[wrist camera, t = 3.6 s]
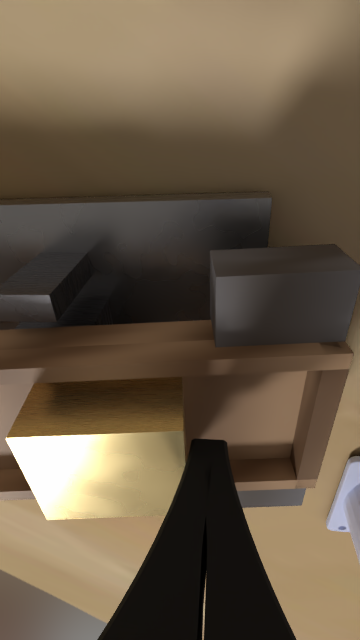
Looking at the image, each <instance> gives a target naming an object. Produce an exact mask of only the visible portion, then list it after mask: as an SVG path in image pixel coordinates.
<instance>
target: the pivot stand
mask: <svg viewBox="0 0 360 640" xmlns="http://www.w3.org/2000/svg"><path fill="white" fill-rule="evenodd" d="M271 204H272V197H271V195H270V193H269V192H239V193H205V194H171V195H137V196H103V197H69V198H35V199H1V200H0V330H11V329H32V328H52V327H73V326H94V325H114V324H135V323H156V322H176V321H197V320H211V317H210V251H211V250H230V249H249V248H267V246H268V236H269V225H270V214H271Z"/></svg>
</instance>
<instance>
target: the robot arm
mask: <svg viewBox="0 0 360 640" xmlns="http://www.w3.org/2000/svg"><path fill="white" fill-rule="evenodd" d="M326 525H327V528H328V529H329V530H332V531H342V532H350V533H351V537H352V540H353V543H354V547H355V550H356V553H357V557H358V560H359V563H360V456H354V457H351V458H350V459H349V460H348V461H347V464H346V467H345V470H344V473H343V475H342V478H341V481H340V484H339V487H338V490H337V492H336V495H335V498H334V501H333V504H332V506H331V509H330V512H329V515H328V518H327V520H326ZM206 570H207V572H206ZM205 580H206V600H205V627H204V640H296V638H295V636H294V633H293V631H292V629H291V627H290V625H289V623H288V621H287V619H286V617H285V615H284V612H283V610H282V608H281V606H280V604H279V601H278V599H277V597H276V595H275V593H274V590H273V588H272V586H271V583H270V581H269V579H268V576H267V574H266V571H265V569H264V567H263V564H262V562H261V559H260V557H259V554H258V551H257V549H256V546H255V544H254V541H253V538H252V535H251V533H250V530H249V527H248V524H247V521H246V519H245V515H244V512H243V509H242V506H241V503H240V500H239V496H238V493H237V490H236V486H235V482H234V478H233V474H232V470H231V465H230V460H229V454H228V446H227V442H226V441H225V440H214V439H197V438H195V439H193V440H191V445H190V450H189V454H188V458H187V461H186V465H185V468H184V471H183V474H182V477H181V480H180V482H179V485H178V488H177V490H176V493H175V495H174V498H173V500H172V503H171V505H170V508H169V510H168V512H167V514H166V517H165V519H164V521H163V523H162V525H161V527H160V530H159V532H158V534H157V536H156V538H155V540H154V542H153V544H152V546H151V548H150V550H149V552H148V554H147V556H146V558H145V560H144V562H143V564H142V566H141V567H140V569H139V571H138V573H137V575H136V577H135V578H134V580H133V582H132V584H131V585H130V587H129V589H128V591H127V592H126V594H125V596H124V598H123V599H122V601H121V603H120V604H119V606H118V608H117V609H116V611H115V613H114V614H113V616H112V618H111V619H110V621H109V622H108V624H107V626H106V627H105V629H104V630H103V632H102V633H101V635H100V636H99V638H98V640H202V626H203V603H204V590H205Z"/></svg>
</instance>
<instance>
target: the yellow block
mask: <svg viewBox="0 0 360 640" xmlns="http://www.w3.org/2000/svg"><path fill="white" fill-rule="evenodd" d="M6 440H7V442H8V444H9V446H10V448H11V450H12V452H13V454H14V456H15V458H16V459H17V461H18V463H19V465H20V467H21V469H22V471H23V473H24V475H25V477H26V479H27V481H28V483H29V485H30V487H31V489H32V491H33V493H34V495H35V497H36V499H37V501H38V503H39V505H40V507H41V509H42V511H43V513H44V515H45V517H46V519H47V520H57V519H84V518H110V517H137V516H163V515H166V514H167V512H168V510H169V508H170V505H171V503H172V500H173V498H174V495H175V493H176V490H177V488H178V485H179V482H180V480H181V477H182V474H183V471H184V468H185V465H186V461H187V445H186V429H185V413H184V396H183V380H182V377H163V378H141V379H119V380H97V381H75V382H53V383H34V384H33V386H32V388H31V390H30V392H29V394H28V396H27V398H26V400H25V402H24V404H23V406H22V408H21V410H20V412H19V414H18V416H17V417H16V419H15V421H14V423H13V425H12V427H11V429H10V431H9V433H8V435H7V437H6Z"/></svg>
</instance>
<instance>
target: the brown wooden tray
mask: <svg viewBox="0 0 360 640" xmlns="http://www.w3.org/2000/svg"><path fill="white" fill-rule="evenodd" d="M359 287H360V266H359V265H358V264H357V263H356V262H355V261H354V260H352V259H351V258H350V257H349V256H348V255H347V254H345V253H344V252H343V251H342V250H341V249H340V248H339V247H337V246H336V245H335V244H327V245H307V246H288V247H269V248H249V249H230V250H211V251H210V317H211V320H197V321H176V322H156V323H135V324H114V325H94V326H73V327H52V328H32V329H11V330H0V500H22V499H36V497H35V495H34V493H33V491H32V489H31V487H30V485H29V483H28V481H27V479H26V477H25V475H24V473H23V471H22V469H21V467H20V465H19V463H18V461H17V459H16V458H15V456H14V454H13V452H12V450H11V448H10V446H9V444H8V442H7V440H6V437H7V435H8V433H9V431H10V429H11V427H12V425H13V423H14V421H15V419H16V417H17V416H18V414H19V412H20V410H21V408H22V406H23V404H24V402H25V400H26V398H27V396H28V394H29V392H30V390H31V388H32V386H33V384H34V383H53V382H75V381H97V380H119V379H141V378H163V377H182V380H183V396H184V413H185V429H186V445H187V458H188V454H189V450H190V445H191V440H193V439H195V438H197V439H214V440H225V441H226V442H227V446H228V454H229V460H230V465H231V470H232V474H233V478H234V482H235V486H236V490H237V493H238V496H239V500H240V503H241V506H242V508H246V507H272V506H298V505H302V502H303V498H304V494H305V490H306V488H315V486H316V482H317V479H318V475H319V472H320V468H321V465H322V461H323V458H324V455H325V451H326V448H327V444H328V441H329V437H330V434H331V430H332V427H333V424H334V420H335V417H336V413H337V410H338V406H339V403H340V399H341V396H342V393H343V389H344V386H345V382H346V379H347V375H348V372H349V368H350V365H351V362H352V358H353V355H354V353H353V352H352V350H351V349H350V347H349V346H348V345H347V343H346V342H345V340H346V336H347V332H348V329H349V325H350V321H351V317H352V314H353V310H354V306H355V302H356V299H357V295H358V291H359Z"/></svg>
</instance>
